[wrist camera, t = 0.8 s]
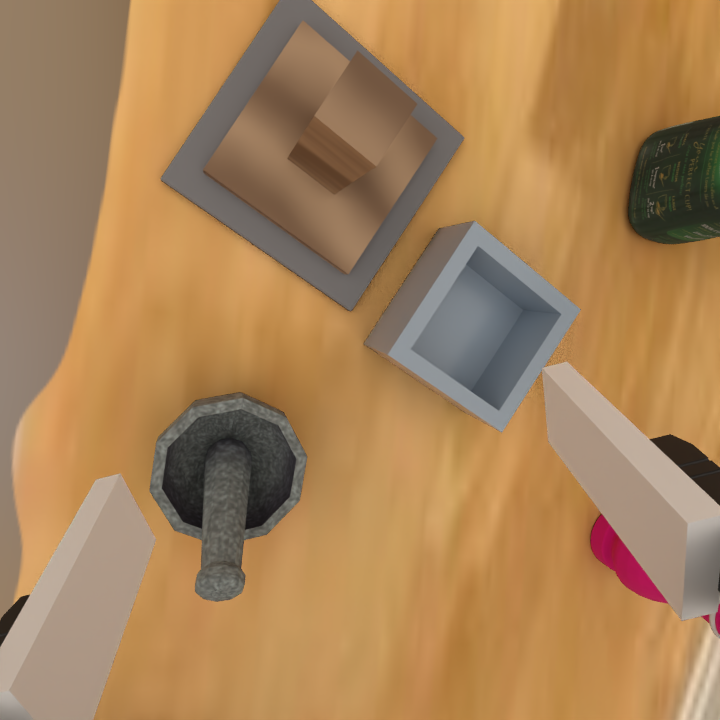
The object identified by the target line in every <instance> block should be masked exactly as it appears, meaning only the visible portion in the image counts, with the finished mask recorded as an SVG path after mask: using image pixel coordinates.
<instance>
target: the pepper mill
mask: <svg viewBox="0 0 720 720" xmlns="http://www.w3.org/2000/svg"><path fill="white" fill-rule="evenodd" d="M590 541H591V548H592V551H593V553H594V555H595V556H596V558H597V559H598V560H599V561H601V562H602V563H603V564H605V565H606V566H608V567H609V568H610V569H612V570H614V571H615V572H616V574H617V576H618V578H619V579H620V581H621V582H622V583H623V584H624V585H625V586H626V587H627V588H628V589H630V590H632V591H633V592H635V593H637V594H638V595H640V596H643V597H645V598H648V599H650V600H653V601H658V602H663V603H668V602H667V601H666V599H665V598H664V596H663V595H662V594H661V592H660V591H659V590H658V588H657V587H656V586H655V584H654V583H653V582H652V580H651V579H650V578H649V576H648V575H647V574H646V572H645V571H644V570H643V568H642V567H641V566H640V564H639V563H638V562H637V560H636V559H635V558H634V556H633V555H632V554H631V552H630V551H629V549H628V548H627V547H626V545H625V544H624V543H623V541H622V540H621V539H620V537H619V536H618V535H617V533H616V532H615V531H614V529H613V528H612V527H611V525H610V524H609V523H608V521H607V520H606V519H605V517H604V516H603V515H602V514H601V515H600V517H599V518H598V519H597V521H596V522H595V525H594V527H593V529H592V533H591V540H590ZM668 604H669V603H668ZM701 617H703V618H704V619H705V620H706V621H707V622H708V623H710V626H711V629H712V631H713V632H714V634H715V635H716V636H717V637H719V638H720V594H719V603H718V612H716V613H712V614H708V615H704V616H701Z"/></svg>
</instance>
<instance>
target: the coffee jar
mask: <svg viewBox="0 0 720 720" xmlns="http://www.w3.org/2000/svg"><path fill="white" fill-rule="evenodd" d="M628 216H629V221H630V223H631V225H632V227H633V228H634V230H635V231H636V232H637V233H638V234H639V235H640V236H642V237H643V238H645V239H648V240H651V241H655V242H658V243H663V244H680V243H688V242H694V241H700V240H705V239H710V238H715V237H720V116H717V117H712V118H708V119H703V120H698V121H693V122H689V123H684V124H680V125H676V126H672V127H669V128H666V129H662V130H659V131H657V132H655V133H653V134H652V135H651V136H650V137H649V138H648V139H647V140H646V141H645V142H644V144H643V146H642V148H641V150H640V152H639V155H638V159H637V162H636V166H635V169H634V173H633V178H632V184H631V189H630V196H629V206H628Z"/></svg>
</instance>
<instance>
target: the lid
mask: <svg viewBox="0 0 720 720" xmlns="http://www.w3.org/2000/svg"><path fill="white" fill-rule="evenodd" d="M416 106H417V103H416V102H415V101H414V100H413V99H412V98H411V97H409V96H408V95H407V94H406V93H405V92H404V91H403V90H402V89H400V88H399V87H398V86H397V85H396V84H395V83H394V82H393V81H391V80H390V79H389V78H388V77H387V76H386V75H385V74H384V73H382V72H381V71H380V70H379V69H378V68H377V67H376V66H375V65H374V64H372V63H371V62H370V61H369V60H368V59H367V58H366V57H365V56H363V55H362V54H361V53H360V52H359V51H357V52H356V54H355V55H354V57H353V58H352V60H351V61H349V60H348V59H347V58H345V57H344V56H343V55H342V54H341V53H340V52H339V51H337V50H336V49H335V48H334V47H333V46H332V45H331V44H330V43H328V42H327V41H326V40H325V39H324V38H323V37H322V36H320V35H319V34H318V33H317V32H316V31H315V30H314V29H312V28H311V27H310V26H309V25H308V24H307V23H306V22H304V21H302V22H301V24H300V25H299V27H298V28H297V30H296V31H295V33H294V34H293V36H292V37H291V39H290V40H289V42H288V43H287V45H286V46H285V48H284V49H283V51H282V52H281V54H280V55H279V57H278V58H277V60H276V61H275V63H274V64H273V66H272V67H271V69H270V70H269V72H268V73H267V75H266V76H265V78H264V79H263V81H262V82H261V84H260V85H259V87H258V88H257V90H256V91H255V93H254V94H253V96H252V97H251V99H250V100H249V102H248V103H247V105H246V106H245V108H244V109H243V111H242V112H241V114H240V115H239V117H238V118H237V120H236V121H235V123H234V124H233V126H232V127H231V129H230V130H229V132H228V133H227V135H226V136H225V138H224V139H223V141H222V142H221V144H220V145H219V147H218V148H217V150H216V151H215V153H214V154H213V156H212V157H211V159H210V160H209V162H208V163H207V165H206V166H205V168H204V169H203V173H204V174H205V175H207V176H208V177H210V178H211V179H212V180H214V181H215V182H217V183H218V184H219V185H221V186H222V187H224V188H225V189H226V190H228V191H229V192H230V193H232V194H233V195H235V196H236V197H237V198H239V199H240V200H242V201H243V202H244V203H246V204H247V205H249V206H250V207H251V208H253V209H254V210H256V211H257V212H258V213H260V214H261V215H262V216H264V217H265V218H267V219H268V220H269V221H271V222H272V223H274V224H275V225H276V226H278V227H279V228H281V229H282V230H283V231H285V232H286V233H288V234H289V235H290V236H292V237H293V238H295V239H296V240H297V241H299V242H300V243H301V244H303V245H304V246H306V247H307V248H308V249H310V250H311V251H313V252H314V253H315V254H317V255H318V256H320V257H321V258H322V259H324V260H325V261H327V262H328V263H329V264H331V265H332V266H333V267H335V268H336V269H338V270H339V271H340V272H342V273H343V274H349V273H350V271H351V270H352V268H353V267H354V265H355V264H356V262H357V260H358V259H359V257H360V256H361V254H362V253H363V251H364V250H365V248H366V247H367V245H368V244H369V242H370V241H371V239H372V238H373V236H374V235H375V233H376V232H377V230H378V228H379V227H380V225H381V224H382V222H383V221H384V219H385V218H386V216H387V215H388V213H389V212H390V210H391V209H392V207H393V206H394V204H395V203H396V201H397V200H398V198H399V196H400V195H401V193H402V192H403V190H404V189H405V187H406V186H407V184H408V183H409V181H410V180H411V178H412V177H413V175H414V174H415V172H416V171H417V169H418V168H419V166H420V164H421V163H422V161H423V160H424V158H425V157H426V155H427V154H428V152H429V151H430V149H431V148H432V146H433V145H434V143H435V142H436V140H437V139H438V138H437V137H435V136H434V135H433V134H432V133H431V132H430V131H429V130H427V129H426V128H425V127H424V126H423V125H422V124H421V123H419V122H418V121H417V120H416V119H415V118H414V117H413V116H412V115H411V113H412V112H413V110H414V109H415V107H416Z"/></svg>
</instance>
